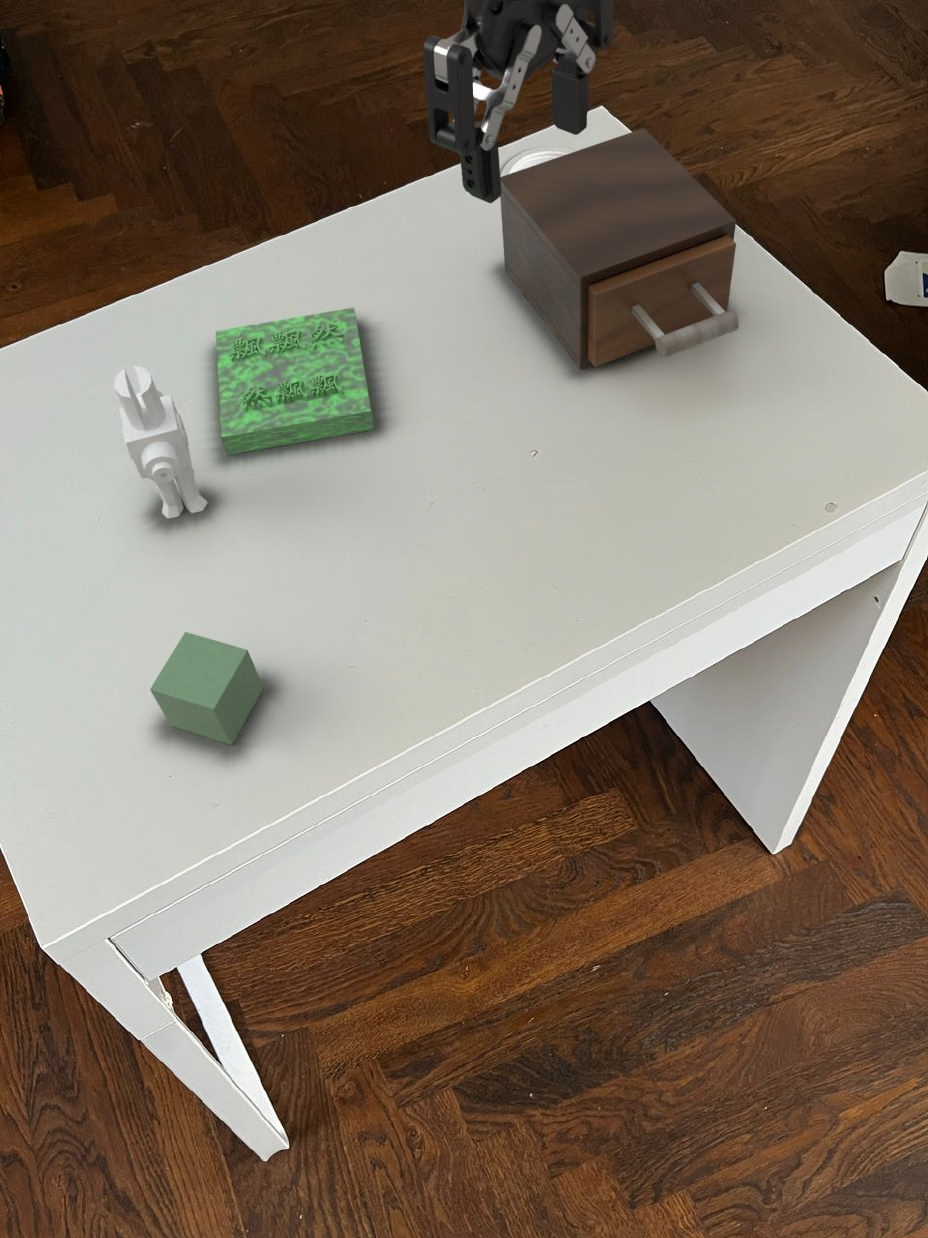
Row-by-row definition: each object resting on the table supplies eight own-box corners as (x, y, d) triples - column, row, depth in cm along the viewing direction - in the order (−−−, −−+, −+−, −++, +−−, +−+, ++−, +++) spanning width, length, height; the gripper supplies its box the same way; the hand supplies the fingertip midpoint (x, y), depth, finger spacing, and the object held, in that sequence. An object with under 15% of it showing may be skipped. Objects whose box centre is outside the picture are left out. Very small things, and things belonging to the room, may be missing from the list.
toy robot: (200, 456, 87) (152, 333, 77) (217, 530, 83) (168, 409, 73) (149, 470, 87) (95, 348, 77) (163, 545, 82) (107, 425, 72)
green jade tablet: (227, 455, 87) (219, 432, 85) (221, 349, 94) (214, 326, 92) (374, 429, 87) (369, 405, 85) (357, 325, 94) (352, 302, 92)
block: (264, 687, 74) (248, 649, 71) (232, 745, 72) (213, 709, 69) (204, 669, 76) (185, 631, 72) (170, 726, 73) (149, 689, 70)
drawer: (764, 358, 87) (777, 284, 81) (628, 411, 85) (631, 339, 79) (647, 229, 97) (651, 155, 91) (522, 274, 95) (519, 201, 89)
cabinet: (724, 315, 91) (736, 220, 84) (580, 369, 89) (580, 277, 82) (639, 221, 99) (643, 127, 92) (504, 269, 97) (498, 177, 89)
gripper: (481, -49, 54) (502, 243, 67) (657, -166, 59) (644, 124, 73) (366, -85, 57) (407, 200, 70) (543, -193, 63) (550, 90, 76)
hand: (528, 161), depth 71 cm, fingers open, 8 cm apart
